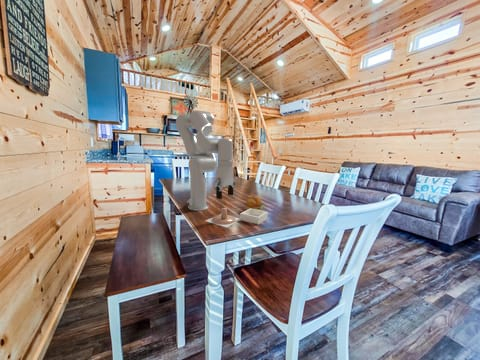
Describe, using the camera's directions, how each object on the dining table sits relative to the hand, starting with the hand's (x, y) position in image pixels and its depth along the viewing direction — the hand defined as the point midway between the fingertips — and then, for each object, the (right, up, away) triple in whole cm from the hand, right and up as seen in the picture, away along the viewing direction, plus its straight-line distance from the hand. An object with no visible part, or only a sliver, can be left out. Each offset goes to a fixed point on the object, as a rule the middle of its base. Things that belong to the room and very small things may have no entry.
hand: (225, 196), depth 108 cm
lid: (-1, -12, +3) cm, 13 cm away
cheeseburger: (+17, -11, +20) cm, 28 cm away
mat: (-1, -13, +3) cm, 13 cm away
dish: (+15, -13, +5) cm, 21 cm away
